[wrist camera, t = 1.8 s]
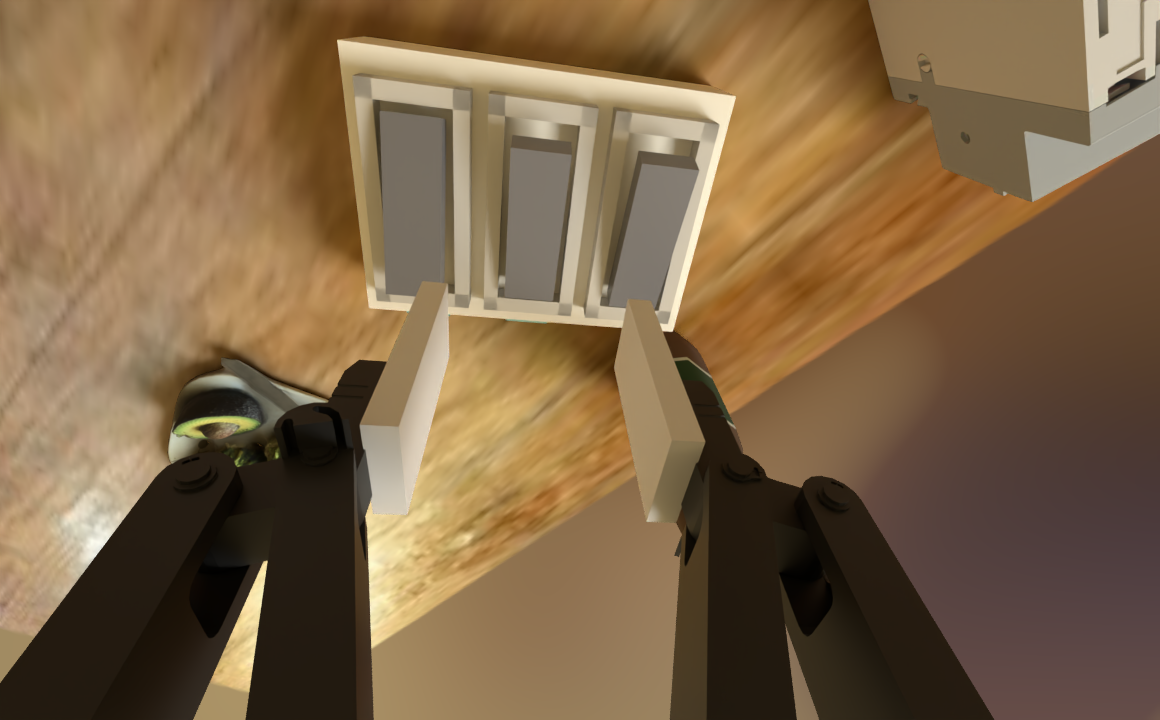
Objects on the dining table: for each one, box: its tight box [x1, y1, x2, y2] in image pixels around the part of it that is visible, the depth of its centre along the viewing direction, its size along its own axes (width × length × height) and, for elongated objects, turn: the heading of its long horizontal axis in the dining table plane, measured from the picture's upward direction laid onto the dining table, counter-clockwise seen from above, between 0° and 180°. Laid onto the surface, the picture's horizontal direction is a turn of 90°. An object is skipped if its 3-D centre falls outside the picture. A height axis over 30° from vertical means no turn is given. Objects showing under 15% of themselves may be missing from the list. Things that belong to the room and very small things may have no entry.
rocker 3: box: [607, 151, 700, 310], centre depth 31 cm, size 10×3×2 cm, turn 173°
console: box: [337, 36, 736, 332], centre depth 34 cm, size 16×22×6 cm
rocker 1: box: [380, 110, 446, 297], centre depth 29 cm, size 10×3×2 cm, turn 173°
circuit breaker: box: [868, 0, 1160, 202], centre depth 27 cm, size 8×14×15 cm, turn 34°
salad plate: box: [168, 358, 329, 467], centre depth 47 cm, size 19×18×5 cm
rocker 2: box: [505, 135, 572, 301], centre depth 30 cm, size 10×3×2 cm, turn 173°
